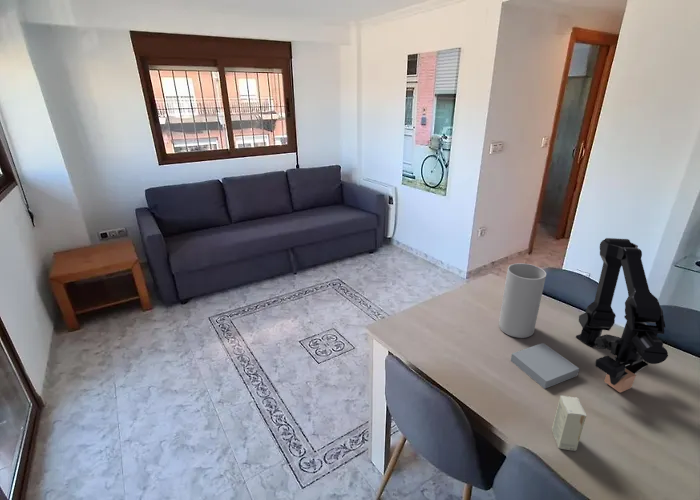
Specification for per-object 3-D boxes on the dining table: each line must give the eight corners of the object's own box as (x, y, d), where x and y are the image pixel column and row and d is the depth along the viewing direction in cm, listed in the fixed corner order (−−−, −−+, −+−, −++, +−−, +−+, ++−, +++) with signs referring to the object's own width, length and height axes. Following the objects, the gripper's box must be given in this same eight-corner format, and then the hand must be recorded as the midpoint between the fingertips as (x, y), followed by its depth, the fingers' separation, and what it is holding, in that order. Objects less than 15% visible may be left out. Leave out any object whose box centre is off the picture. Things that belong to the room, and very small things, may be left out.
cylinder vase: (539, 338, 135) (552, 279, 125) (505, 339, 135) (515, 279, 125) (525, 319, 146) (536, 263, 136) (493, 319, 147) (502, 263, 136)
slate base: (541, 349, 129) (543, 342, 128) (577, 375, 117) (579, 368, 116) (510, 360, 125) (511, 353, 123) (544, 388, 113) (546, 381, 112)
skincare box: (576, 451, 93) (588, 417, 88) (558, 449, 94) (568, 414, 89) (568, 430, 99) (578, 396, 94) (550, 428, 100) (560, 394, 95)
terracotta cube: (615, 376, 116) (619, 364, 114) (631, 387, 111) (636, 375, 109) (604, 381, 114) (608, 369, 112) (620, 392, 110) (624, 379, 108)
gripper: (626, 317, 116) (613, 356, 122) (584, 332, 110) (573, 373, 116) (665, 337, 106) (649, 379, 113) (622, 355, 100) (607, 398, 106)
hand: (618, 381), depth 112 cm, fingers closed on terracotta cube, 5 cm apart
